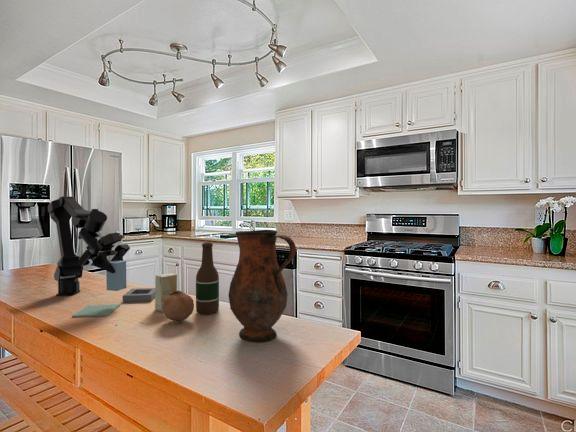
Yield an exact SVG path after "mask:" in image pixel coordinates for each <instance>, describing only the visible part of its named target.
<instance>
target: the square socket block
mask: <svg viewBox="0 0 576 432" xmlns="http://www.w3.org/2000/svg"><path fill="white" fill-rule="evenodd" d="M153 300H155V287H150V288H149V287H143V288H142V287H141V288H140V287H139V288H131V289H129V290H128V291H126V293H124V294H123V295H122V303H138V302H139V303H140V302H142V303H144V302H153Z"/></svg>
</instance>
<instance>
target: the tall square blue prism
mask: <svg viewBox="0 0 576 432" xmlns="http://www.w3.org/2000/svg"><path fill="white" fill-rule="evenodd" d="M110 261H111V260H110ZM110 261H109V262H110ZM110 264H111V265H112V266H113V268H114V270H115V273H111V272H108V271H106V270H105V271H106V273H105V275H106V291H112V292H114V291H115V292H119V291H121V290H122V291H123V290H125V289H127V261H126V260H123V261H117V260H116V261H111V262H110Z"/></svg>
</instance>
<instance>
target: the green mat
mask: <svg viewBox="0 0 576 432" xmlns="http://www.w3.org/2000/svg"><path fill="white" fill-rule="evenodd" d="M120 306H121V303H120V304H119V303H117V304H95V305H94V304H91V305H86V306H85V307H83V308H82V309H80V310H78V311H77V312H75V313H74V314H72V315H71V318H85V317H86V318H87V317H88V318H89V317H107V316H109V315H111V314H112V313H114V312H115V311H116V310H117V309H118V308H119V307H120Z"/></svg>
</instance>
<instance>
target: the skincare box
mask: <svg viewBox="0 0 576 432" xmlns="http://www.w3.org/2000/svg"><path fill="white" fill-rule="evenodd" d="M154 282H155V287H154V288H155V298H154V300H155V301H154V303H155V304H154V309H155V310H156V311H159V312H163V310H162V305H163V302H164V300H165V299H166V298H167V297H168V296H169V294H170V293H173V292H174V291H178V285H177V284H178V274H176V273H172V272H169V273H162V274H157V275H155V281H154Z"/></svg>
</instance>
